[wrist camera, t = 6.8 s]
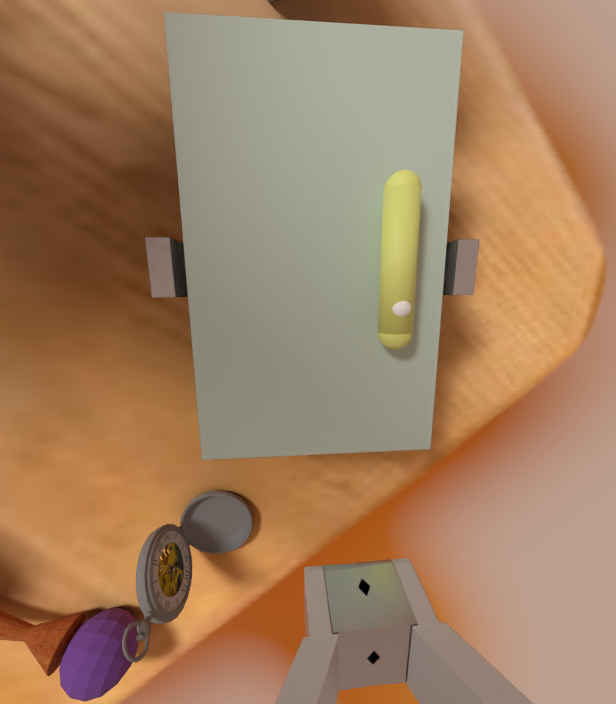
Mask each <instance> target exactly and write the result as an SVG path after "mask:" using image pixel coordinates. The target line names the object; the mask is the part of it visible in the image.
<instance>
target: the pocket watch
mask: <svg viewBox="0 0 616 704" xmlns="http://www.w3.org/2000/svg"><path fill="white" fill-rule="evenodd" d="M252 525H253V519H252V513H251V510H250V508H249V507H248V505H247V504H246V502H244V501H243V500H242V499H241V498H240V497H238V496H236V495H234V494H233V493H229V492H226V491H210V492H206V493H203V494H201V495H199V496H197V497H195V498H194V499H193V500H191V502H190V503H189V504H188V505H187V506H186V508H185V510H184V512H183V515H182V517H181V526H180V527H177V526H176V525H174V524H166V525H164V526H162V527H160V528H158V529H156V530H155V531H154V532H153V533H151V534H150V535H149V537H148V538H147V540H146V542H145V543H144V545H143V547H142V550H141V552H140V555H139V559H138V563H137V571H136V592H137V599H138V602H139V605H140V609H141V611H142V613H143V614H144V616H145V618H144V619H142V620H140V621H134V622H132V623H131V624H129V625H128V627H127V628H126V630H125V632H124V635H123V639H122V650H123V653H124V655H125V657H126V658H127V660H129V661H130V662H135V663H136V662H138V661H140V660H141V659H142V658H143V657H144V656H145V654H146V652H147V649H148V645H149V634H150V631H151V626H150V622H152V623H158V624H163V623H168V622H171V621H172V620H174V619H175V618H177V617H178V615H179V614H180V612H181V611H182V610H183V608H184V605H185V603H186V600H187V598H188V594H189V590H190V586H191V579H192V557H191V552H190V547H189V545H190V544H191V545H192V546H193V547H195V548H196V549H198V550H200V551H203V552H206V553H212V554H214V553H226V552H229V551H232V550H235V549H236V548H238V547H240V546H241V545H242V544H243V543H244V542H245V541H246V540H247V539H248V537H249V535H250V533H251V529H252ZM164 547H165V554H166V555H167V557H166V556H165V555H164V553H163V549H164ZM167 549H168V550H169V554H168V552H167ZM161 554H162V556H163V557H162V559H163V560H162V561H161V560H160V556H161ZM170 563H171V564H170ZM160 565H162V567H163V570H162V567H161V566H160ZM160 567H161V568H160ZM158 568H159V569H158ZM160 570H161V571H160ZM134 626H137V631H138V634H137V636H136V639H137V641H142V640H143V639H144V637H145V647H144V650H143V652H142V654H140V655H139V656H138V657H132V656H131V655H129V654H128V650H127V647H126V639H127V635H128V632H129V630H130V629H131V628H132V627H134Z"/></svg>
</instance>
